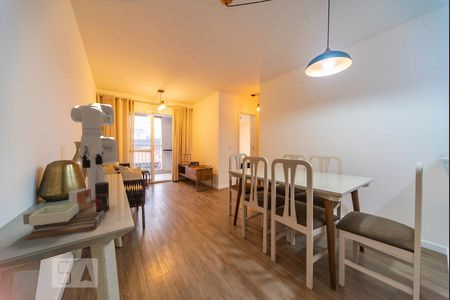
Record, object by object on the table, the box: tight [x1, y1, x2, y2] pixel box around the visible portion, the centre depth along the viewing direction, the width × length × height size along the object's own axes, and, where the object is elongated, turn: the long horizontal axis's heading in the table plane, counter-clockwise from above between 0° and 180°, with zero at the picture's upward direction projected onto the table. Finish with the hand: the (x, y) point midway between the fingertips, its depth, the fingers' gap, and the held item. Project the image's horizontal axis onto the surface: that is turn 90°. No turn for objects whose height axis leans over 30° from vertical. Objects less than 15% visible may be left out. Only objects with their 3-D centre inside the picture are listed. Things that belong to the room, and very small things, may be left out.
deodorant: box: [95, 181, 110, 213], centre depth 91 cm, size 6×6×15 cm
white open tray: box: [22, 203, 80, 229], centre depth 72 cm, size 10×15×6 cm, turn 112°
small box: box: [68, 187, 92, 212], centre depth 93 cm, size 8×6×10 cm
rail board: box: [25, 210, 106, 241], centre depth 75 cm, size 14×22×4 cm, turn 112°
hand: (93, 166), depth 85 cm, fingers open, 9 cm apart
